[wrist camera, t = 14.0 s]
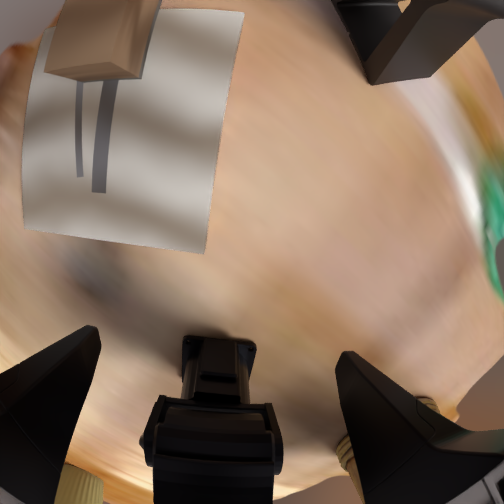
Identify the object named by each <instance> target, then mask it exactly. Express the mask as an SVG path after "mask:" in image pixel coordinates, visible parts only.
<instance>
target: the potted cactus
mask: <svg viewBox="0 0 504 504" xmlns="http://www.w3.org/2000/svg"><path fill="white" fill-rule="evenodd" d="M60 474H61V477H60V481H59V485H58V489H57V493H56V497H55V502H54V504H103V481H102V480H101V479H100V478H98V477H96V476H95V475H93V474H91V473H89V472H87V471H85V470H83V469H80V468H78V467H75V466H72V465H69V464H65V465H64V466H63V469H62V473H60Z"/></svg>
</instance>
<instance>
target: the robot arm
mask: <svg viewBox="0 0 504 504" xmlns="http://www.w3.org/2000/svg"><path fill="white" fill-rule="evenodd" d="M187 340H189V341H190V342H188V341H187ZM251 347H252V349H250V348H251ZM100 351H101V341H100V336H99V331H98V328H97V327H95V326H90V325H86V326H84V327H82V328H81V329H79V330H77V331H75V332H73V333H72V334H70V335H68V336H66V337H64V338H63V339H61V340H59V341H57V342H56V343H54V344H52V345H50V346H48V347H47V348H45V349H43V350H41V351H40V352H38V353H36V354H34V355H33V356H31V357H29V358H27V359H26V360H24V361H22V362H20V364H17V365H15V366H13V367H12V368H10V369H8V370H6V371H4V372H3V373H0V504H54V502H55V497H56V493H57V489H58V485H59V481H60V477H61V474H60V473H62V469H63V465H64V462H65V458H66V455H67V451H68V448H69V445H70V442H71V439H72V436H73V433H74V430H75V427H76V424H77V421H78V418H79V415H80V412H81V410H82V407H83V404H84V401H85V399H86V396H87V394H88V391H89V388H90V386H91V383H92V380H93V376H94V372H95V369H96V365H97V362H98V358H99V355H100ZM256 351H257V347H256V344H255V343H251V342H241V341H231V340H221V339H213V338H205V337H197V336H190V335H187V336H184V338H183V344H182V383H183V387H182V393H181V399H179V398H172V397H167V396H165V395H159V398H158V400H157V402H155V404H154V407H153V409H152V412H151V415H150V417H149V420H148V422H147V425H146V428H145V430H144V433H143V434H142V436H141V437H140V440H139V444H140V446H141V447H142V448H143V450H144V454H145V461H146V464H147V466H150V467H153V492H154V497H153V502H154V504H273V486H274V475H279V474H280V472H281V470H282V466H283V441H282V436H281V432H280V429H279V426H278V422H277V419H276V416H275V413H274V409H273V406H272V403H264V404H250V395H249V378H250V375H251V371H252V367H253V363H254V359H255V355H256ZM335 374H336V380H337V386H338V393H339V399H340V405H341V409H342V412H343V416H344V420H345V423H346V427H347V431H348V435H349V439H350V442H351V446H352V450H353V454H354V458H355V462H356V466H357V470H358V474H359V479H360V483H361V487H362V492H363V495H364V496H363V497H364V501H365V504H504V429H498V430H488V431H470V430H467V429H464V428H462V427H461V426H459V425H457V424H456V423H454V422H452V421H450V420H449V419H447V418H445V417H444V416H442V415H440V414H439V413H437V412H436V411H434V410H432V409H431V408H430V407H428V406H427V405H425V404H424V403H422V402H421V401H420V400H418V399H416V397H414V396H413V395H411V394H410V393H409V392H407V391H406V390H405V389H403V388H402V387H401V386H399V385H398V384H397V383H395V382H394V381H393V380H391V379H390V378H389V377H387V376H386V375H385V374H383V373H382V372H381V371H379V370H378V369H377V368H375V367H374V366H373V365H371V364H370V363H369V362H367V361H366V360H365V359H363V358H362V357H361V356H359V355H358V354H357V353H355V352H354V351H343V352H342V354H341V356H340V358H339V360H338V362H337V365H336V368H335Z"/></svg>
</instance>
